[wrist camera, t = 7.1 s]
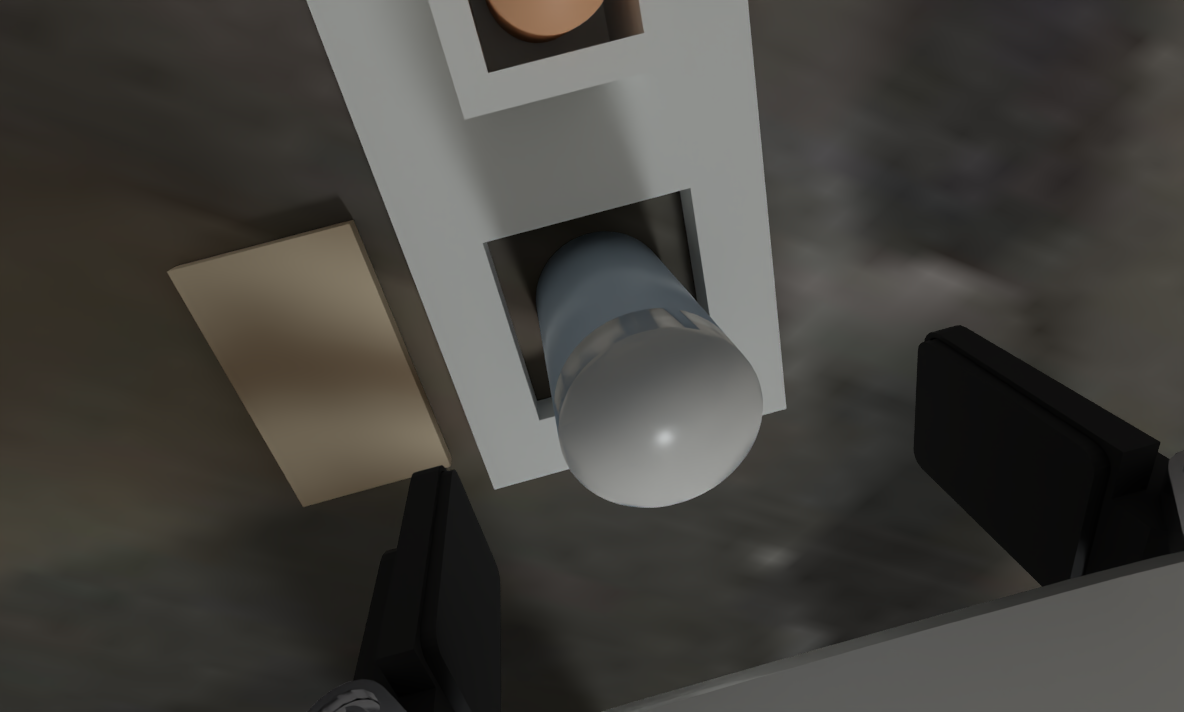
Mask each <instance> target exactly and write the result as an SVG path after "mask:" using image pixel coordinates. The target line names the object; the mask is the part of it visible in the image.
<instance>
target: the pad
mask: <svg viewBox="0 0 1184 712" xmlns="http://www.w3.org/2000/svg"><path fill="white" fill-rule="evenodd" d="M167 273H168V275H169V276H170V278H171V280H172V282H173V283H174V285H175V287H176V289H177V290H178V292H179V294H180V295H181V297H182V299H183V301H184V302H185V304H186V306H187V308H188V309H189V311H190V313H191V314H192V316H193V318H194V320H195V321H196V323H197V325H198V327H199V328H200V330H201V332H202V333H203V335H204V337H205V339H206V340H207V342H208V344H209V345H210V347H211V349H212V351H213V352H214V354H215V356H216V358H217V359H218V361H219V363H220V364H221V366H222V368H223V370H224V371H225V373H226V375H227V377H228V378H229V380H230V382H231V383H232V385H233V387H234V389H235V390H236V392H237V394H238V396H239V397H240V399H241V401H242V402H243V404H244V406H245V408H246V409H247V411H248V413H249V415H250V416H251V418H252V420H253V421H254V423H255V425H256V427H257V428H258V430H259V432H260V433H261V435H262V437H263V439H264V440H265V442H266V444H267V446H268V447H269V449H270V451H271V452H272V454H273V456H274V458H275V459H276V461H277V463H278V465H279V466H280V468H281V470H282V471H283V473H284V475H285V477H286V478H287V480H288V482H289V484H290V485H291V487H292V489H293V490H294V492H295V494H296V496H297V497H298V499H299V501H300V502H301V504H302V506H303V507H305V506H309V505H313V504H316V503H320V502H323V501H327V500H331V499H334V498H338V497H342V496H345V495H349V494H352V493H356V492H360V491H363V490H367V489H371V488H374V487H378V486H381V485H385V484H389V483H392V482H396V481H400V480H403V479H407V478H410V477H412V474H413V473H414V472H418V471H421V470H425V469H429V468H432V467H436V466H440V465H443V466H444V467H445V468H447V467H450V466H451V459H452V457H451V455H450V452H449V450H448V448H447V445H446V443H445V440H444V438H443V436H442V433H441V431H440V428H439V426H438V423H437V421H436V419H435V416H434V414H433V411H432V409H431V406H430V404H429V402H428V399H427V397H426V394H425V392H424V390H423V387H422V385H421V382H420V380H419V377H418V375H417V373H416V370H415V368H414V365H413V363H412V361H411V358H410V356H409V353H408V351H407V348H406V346H405V344H404V341H403V339H402V336H401V334H400V331H399V329H398V327H397V324H396V322H395V319H394V317H393V315H392V312H391V310H390V307H389V305H388V302H387V300H386V298H385V295H384V293H383V290H382V288H381V285H380V283H379V281H378V278H377V276H376V273H375V271H374V269H373V266H372V264H371V261H370V259H369V256H368V254H367V252H366V249H365V247H364V244H363V242H362V240H361V237H360V235H359V232H358V230H357V227H356V225H355V223H354V220H350V221H346V222H343V223H339V224H335V225H331V226H327V227H323V228H320V229H316V230H312V231H308V232H304V233H301V234H297V235H293V236H289V237H285V238H282V239H278V240H274V241H270V242H266V243H262V244H259V245H255V246H251V247H247V248H243V249H240V250H236V251H232V252H228V253H224V254H221V255H217V256H213V257H209V258H205V259H202V260H198V261H194V262H190V263H186V264H182V265H179V266H175V267H174V268H172V269H170V270H169V271H167Z"/></svg>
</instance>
